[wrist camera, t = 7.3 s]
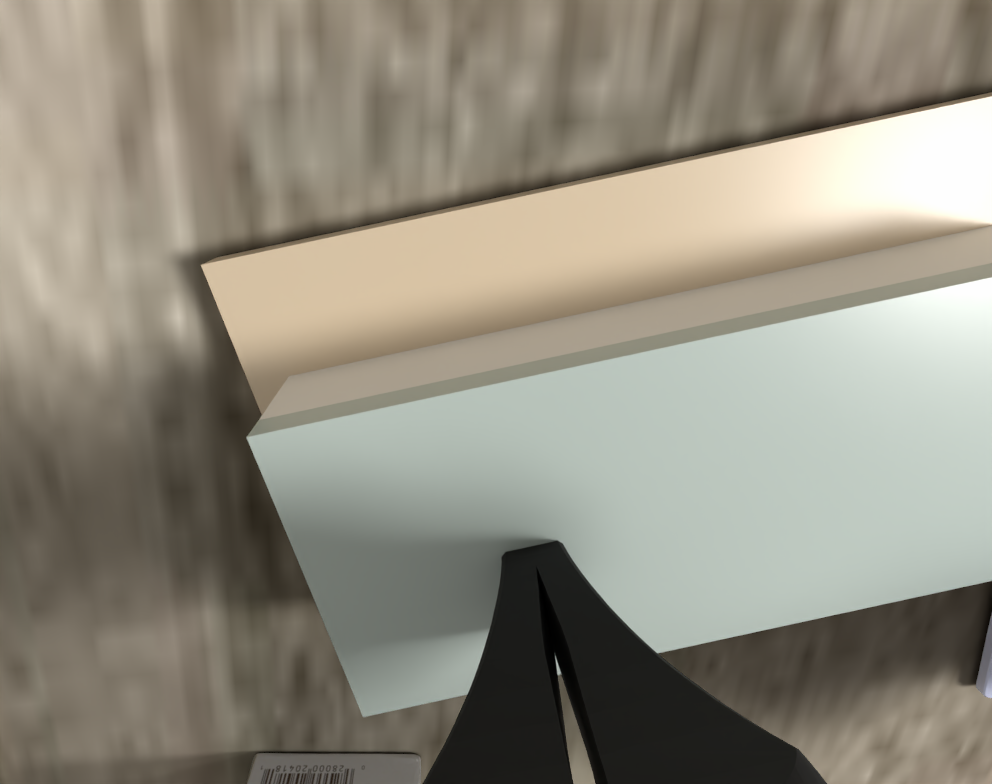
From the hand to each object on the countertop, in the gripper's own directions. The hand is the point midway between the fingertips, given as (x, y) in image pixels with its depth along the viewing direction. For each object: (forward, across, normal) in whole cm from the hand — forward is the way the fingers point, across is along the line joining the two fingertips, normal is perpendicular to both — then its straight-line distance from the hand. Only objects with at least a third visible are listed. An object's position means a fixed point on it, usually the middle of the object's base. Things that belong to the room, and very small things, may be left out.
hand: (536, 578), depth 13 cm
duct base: (+4, -4, -1) cm, 6 cm away
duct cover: (+1, -4, -1) cm, 4 cm away
